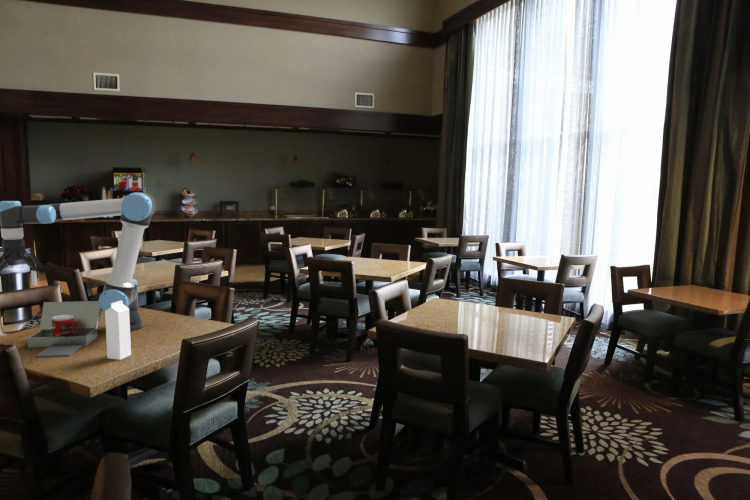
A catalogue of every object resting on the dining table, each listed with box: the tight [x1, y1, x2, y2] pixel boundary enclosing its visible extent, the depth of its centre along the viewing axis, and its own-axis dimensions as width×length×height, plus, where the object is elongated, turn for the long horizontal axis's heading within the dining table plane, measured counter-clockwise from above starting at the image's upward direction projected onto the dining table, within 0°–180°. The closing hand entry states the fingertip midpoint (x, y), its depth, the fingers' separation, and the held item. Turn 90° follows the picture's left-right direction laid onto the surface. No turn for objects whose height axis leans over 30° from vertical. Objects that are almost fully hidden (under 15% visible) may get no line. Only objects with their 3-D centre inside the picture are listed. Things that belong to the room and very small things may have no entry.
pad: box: [35, 345, 83, 358], centre depth 201 cm, size 12×12×1 cm
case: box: [27, 300, 102, 349], centre depth 215 cm, size 24×17×15 cm
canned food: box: [52, 315, 74, 337], centre depth 212 cm, size 8×8×11 cm
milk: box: [104, 300, 132, 361], centre depth 195 cm, size 6×6×22 cm
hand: (17, 288), depth 211 cm, fingers open, 13 cm apart
